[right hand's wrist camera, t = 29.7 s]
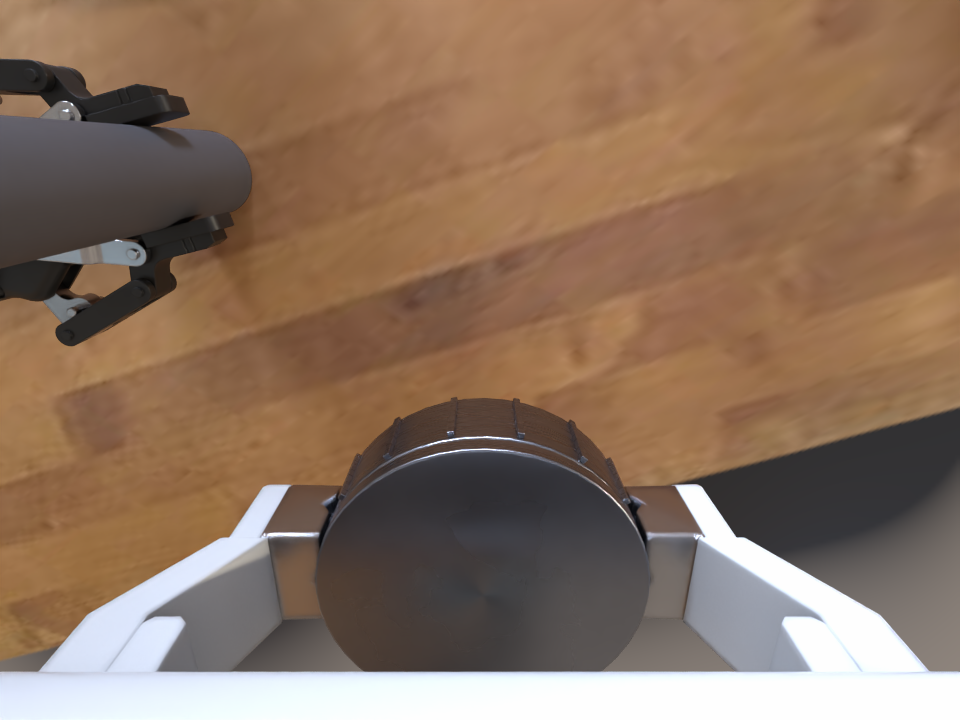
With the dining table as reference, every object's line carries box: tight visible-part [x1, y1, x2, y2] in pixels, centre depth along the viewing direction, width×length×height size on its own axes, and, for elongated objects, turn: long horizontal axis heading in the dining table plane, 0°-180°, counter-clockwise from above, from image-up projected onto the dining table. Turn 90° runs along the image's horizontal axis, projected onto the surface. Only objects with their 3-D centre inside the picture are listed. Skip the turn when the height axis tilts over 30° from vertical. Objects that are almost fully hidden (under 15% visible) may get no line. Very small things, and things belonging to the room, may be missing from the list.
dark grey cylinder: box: [0, 115, 252, 269], centre depth 22 cm, size 5×5×20 cm
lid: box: [315, 397, 650, 672], centre depth 10 cm, size 6×6×2 cm
